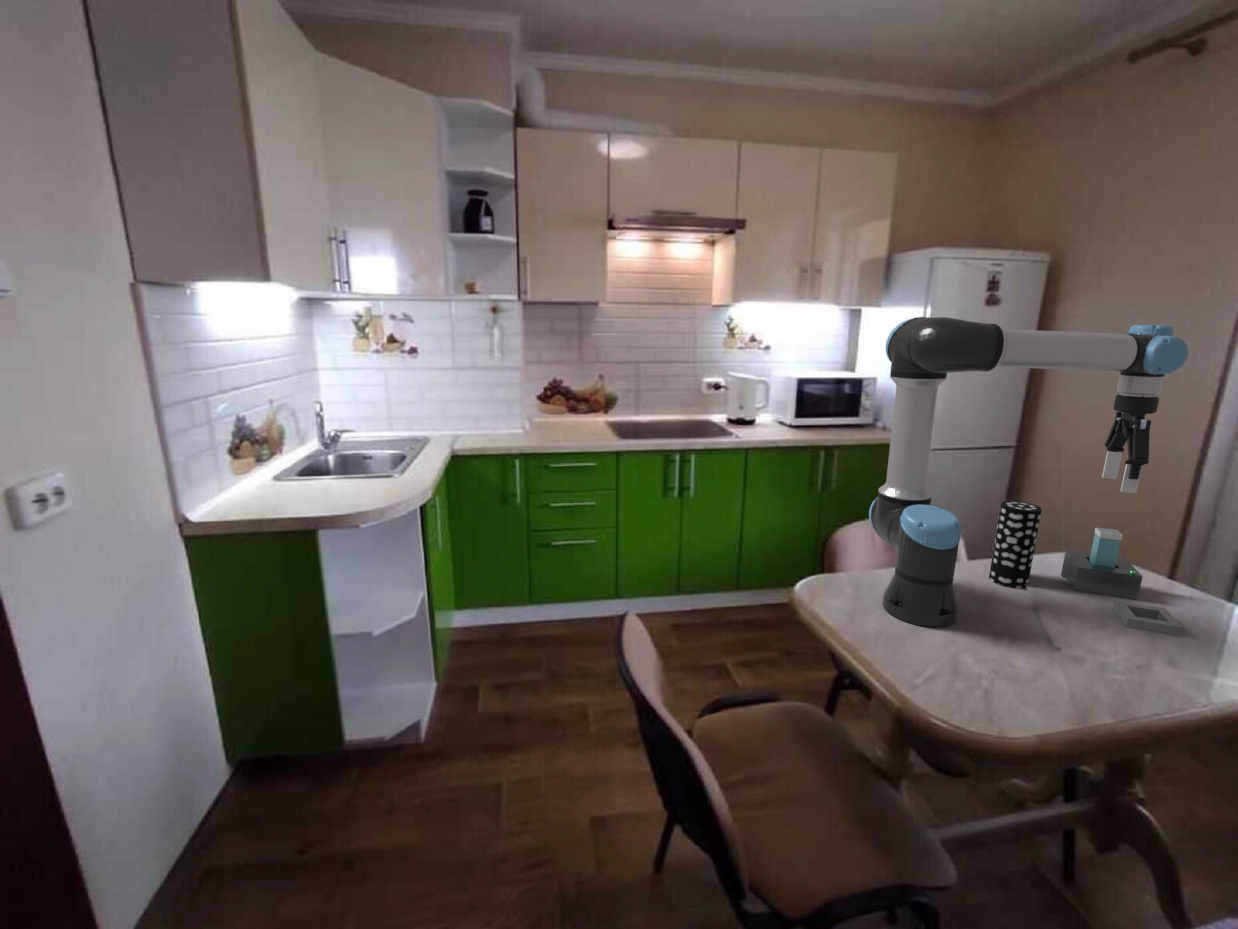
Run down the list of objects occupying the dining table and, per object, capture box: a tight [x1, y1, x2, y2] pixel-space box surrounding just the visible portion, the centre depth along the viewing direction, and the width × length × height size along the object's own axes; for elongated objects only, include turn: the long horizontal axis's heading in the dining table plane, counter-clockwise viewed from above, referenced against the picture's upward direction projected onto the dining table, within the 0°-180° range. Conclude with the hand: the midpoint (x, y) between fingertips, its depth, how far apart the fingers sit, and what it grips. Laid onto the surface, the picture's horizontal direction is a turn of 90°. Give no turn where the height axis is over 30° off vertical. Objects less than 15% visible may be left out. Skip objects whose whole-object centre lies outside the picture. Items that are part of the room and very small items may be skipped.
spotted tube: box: [988, 500, 1043, 589], centre depth 146 cm, size 8×8×20 cm
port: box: [1060, 549, 1143, 601], centre depth 143 cm, size 12×12×7 cm
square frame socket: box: [1111, 600, 1184, 637], centre depth 126 cm, size 9×9×3 cm
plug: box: [1089, 527, 1124, 568], centre depth 142 cm, size 4×4×12 cm
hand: (1118, 485), depth 137 cm, fingers open, 13 cm apart
